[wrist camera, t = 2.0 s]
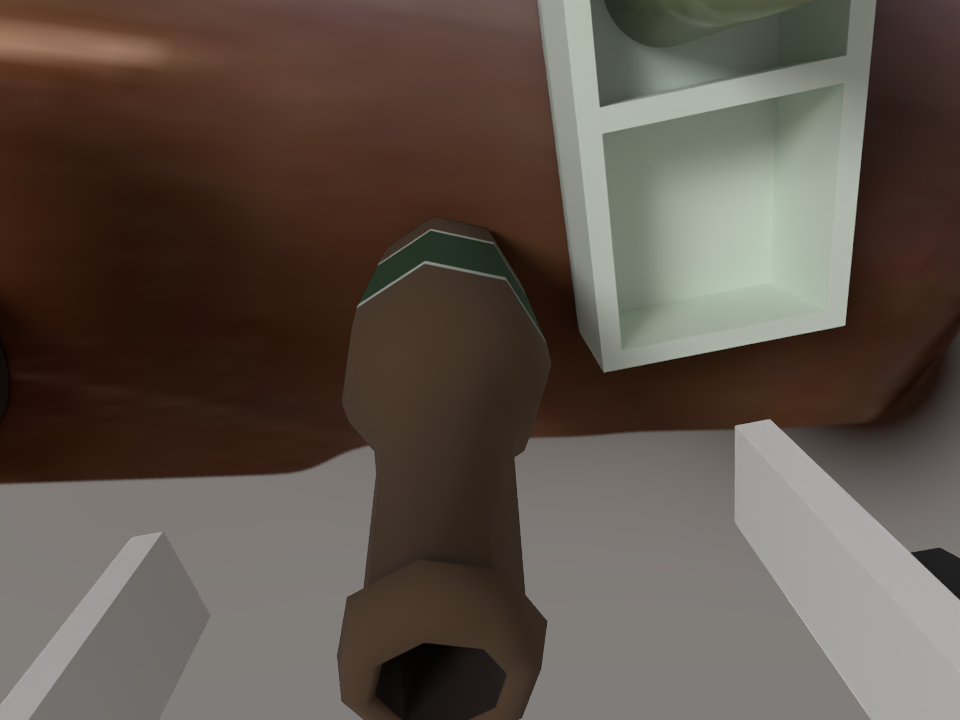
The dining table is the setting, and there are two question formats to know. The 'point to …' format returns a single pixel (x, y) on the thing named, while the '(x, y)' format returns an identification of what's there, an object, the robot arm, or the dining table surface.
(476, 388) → the beer bottle
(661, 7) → the olive bottle
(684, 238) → the caddy
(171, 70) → the dining table surface
